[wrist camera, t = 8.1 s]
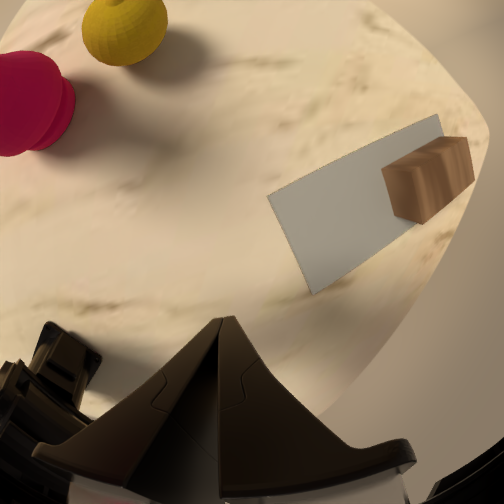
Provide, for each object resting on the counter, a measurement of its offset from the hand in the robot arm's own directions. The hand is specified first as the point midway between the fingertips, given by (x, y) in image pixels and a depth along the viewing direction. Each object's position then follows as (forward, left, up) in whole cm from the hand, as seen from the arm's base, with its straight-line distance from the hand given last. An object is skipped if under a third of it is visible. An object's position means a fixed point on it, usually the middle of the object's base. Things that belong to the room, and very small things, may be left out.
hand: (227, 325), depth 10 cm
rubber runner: (+15, -11, -11) cm, 21 cm away
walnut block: (+14, -10, -9) cm, 20 cm away
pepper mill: (0, +17, -12) cm, 21 cm away
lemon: (+8, +14, -12) cm, 20 cm away
